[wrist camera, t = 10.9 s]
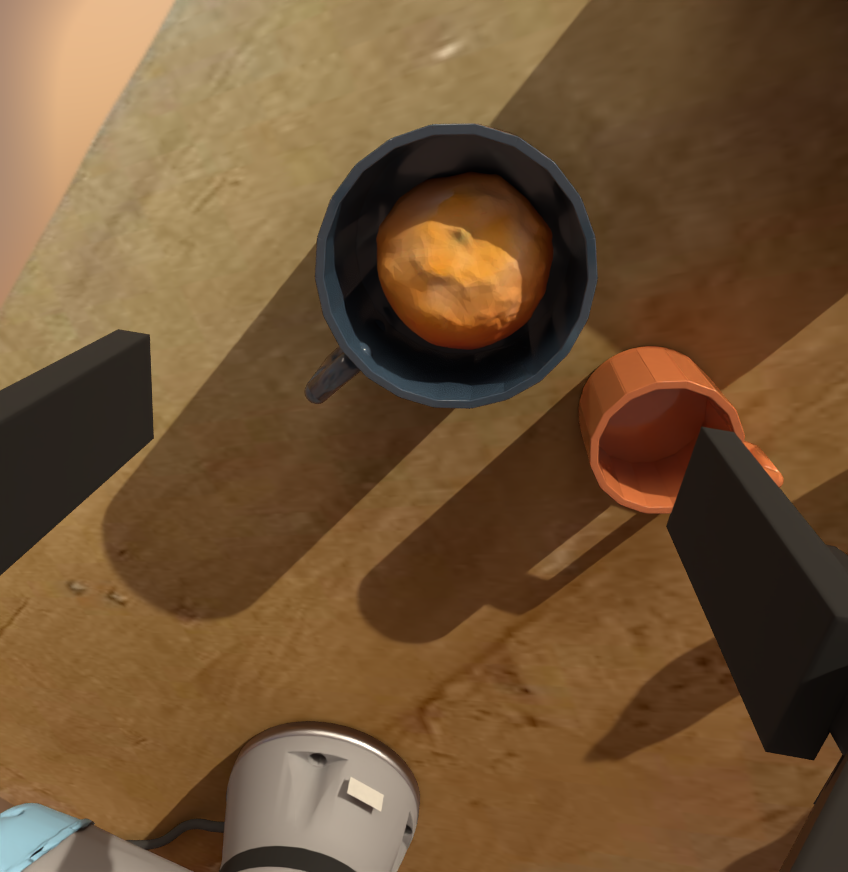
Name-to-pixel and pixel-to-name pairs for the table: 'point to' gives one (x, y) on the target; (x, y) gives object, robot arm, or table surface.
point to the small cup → (652, 425)
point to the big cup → (375, 318)
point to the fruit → (464, 259)
